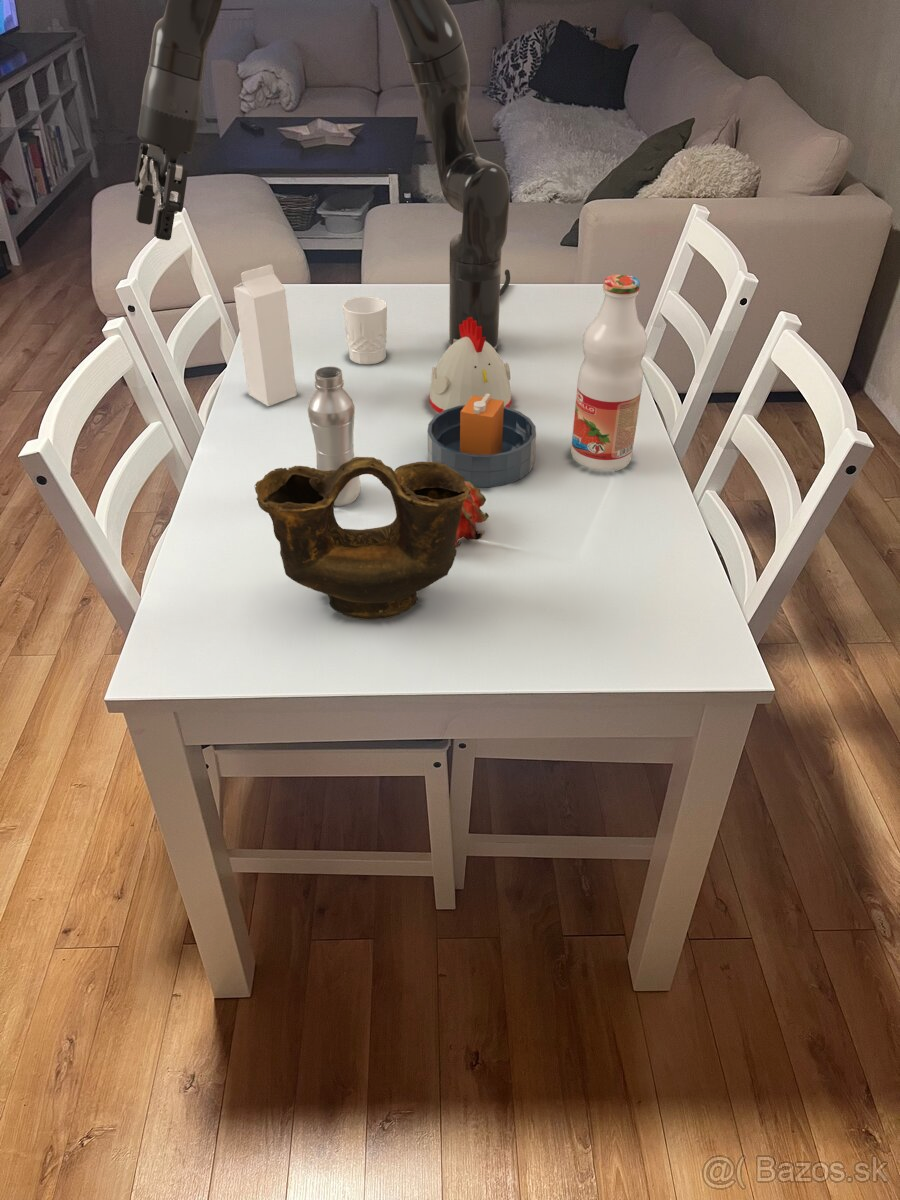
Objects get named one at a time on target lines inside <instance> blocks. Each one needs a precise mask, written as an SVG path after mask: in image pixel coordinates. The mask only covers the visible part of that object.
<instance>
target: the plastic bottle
mask: <svg viewBox="0 0 900 1200" xmlns="http://www.w3.org/2000/svg"><path fill="white" fill-rule="evenodd" d="M343 378H344V377H343V370H342V369H341V368H339V367H337V366H332V365H331V366H323V367H319V368H318V369H316V371H314V380H315V381H314V387H315V389H316V391H315V392H314V394H313V395H312V396H311V398H310V400H309V402H308V406H307V415H308V418H309V423H310V427H311V430H312V434H313V440H314V446H315V452H316V469H318V470H322V471H330V470H337V469H338V468H339V467H340V466H341V465H342V464H344V463H346V462H348V461H350V460H351V459H353V458H355V457H356V456H355V450H354V449H355V447H354V428H355V418H356V417H355V414H356V407H355V403H354V401H353V399H352V397H351V396H350V395H349V393H348V392H347V391H346V390H345V389H344V385H345V384H344V383H345V381H344V379H343ZM361 484H362V483H361V478H360V476H358V477H355V478H353V479H351V480H350V481H349V482H348V483H347V484H346V486H345V487H344V488H343V489H342V490H341V492H340V493H339V495H338V497H337V499H336V500H335V502H334V507H343V506H347V505H351V504H352V503H353V502H355V501H356V500H357V498H358V497H359V495H360V492H361Z"/></svg>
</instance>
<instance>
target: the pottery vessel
mask: <svg viewBox="0 0 900 1200" xmlns="http://www.w3.org/2000/svg"><path fill="white" fill-rule="evenodd" d="M363 475H372V476H373V477H375V478H377V479H378V480H379V481H380V482H381V484H382V485H383V486H384V487H385V488H387V490H389V492H390V494H391V498H392V501H393V505H394V508H395V519H394V520H393V521H392V522H391V523H390V524H388V525H385V526H379V527H372V528H364V529H355V528H343V527H342V526H341V525H339V524H338V521H337V519H336V517H335V510H334V509H335V506H334V502H335V500H336V499H337V497H338V495H339V493H340V492H341V490H342V489H343V488H344V487H345V486H346V484H347V483H348V482H349V481H350V480H351V479H353V478H355V477H358V476H359V477H360V476H363ZM464 479H465V477H464V476H461V475H460V474H459V473H458V472H456V471H454V470H452V469H451V468H449V467H448V466H447V465H445V464H441V463H439V462H428V461H416V462H410V463H407V464H402V465H399V466H398V467H396V468H395V469H393V468H392V467H391V466H388V465H386V464H385V463H384V462H383V461H382V459H377V458H375V457H374V456H355V458H353V459H351V460H350V461H348V462H346V463H344V464H342V465H341V466H340V467H339V468H338V469H337V470H330V471H322V470H318V469H317V468H315V467H310V466H307V465H306V466H305V465H294V466H291V467H284V468H282V467H279V468H274V469H273V470H270V471H268V473H267V474H264V476H263V478H262V479H260V480H257V481H256V483H255V484H254V490H255V493H256V498H255V499H256V501H257V504H258V507H259V508H260V509H261V510H262V511H264V512H265V513H267V514H268V515H269V517H270V519H271V522H272V527H273V528H272V529H273V534H274V537H275V539H276V540H277V542H278V543H279V546H280V548H279V549H280V551H279V555H280V557H281V561H282V564H283V565H282V566H283V570H284V574H285V575H286V576H287V578H288V579H290V580H292V581H293V582H295V583H297V584H299V585H301V586H303V587H305V588H307V589H311V590H313V591H316V592H318V593H322V594H325V595H326V596H328V599H329V602H328V603H329V606H330V607H331V609H332V610H333V611H335V612H338V613H340V614H342V615H343V616H345V617H350V618H352V619H359V620H378V619H380V620H381V619H389V618H393V617H397V616H398V615H400V614H402V613H404V612H406V611H409V610H410V609H411V608H412V607H414V606H416V605H417V604H418V600H419V596H418V592H419V591H422V590H425V589H426V588H428V587H430V586H431V585H433V584H434V583H436V582H438V581H439V580H441V579H442V578H444V577H446V576H448V574H449V572H450V571H451V569H452V567H453V565H454V562H455V559H456V556H457V548H456V547H455V538H456V533H457V529H458V525H459V521H460V518H461V516H462V515H461V510H462V506H463V503H464V501H465V499H466V498H467V497H469V496H468V495H469V493H470V491H471V489H470V487H469V486H467V485H466V484H465V481H464Z"/></svg>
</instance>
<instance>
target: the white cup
mask: <svg viewBox="0 0 900 1200" xmlns="http://www.w3.org/2000/svg"><path fill="white" fill-rule="evenodd" d="M342 310H343V319H344V327H345V335H346V341H347V342H346V343H347V346H348V353H349V359H350V360H351V361H352V362H353V363H355V364H359V365H376V364H379V363H381V362H382V361H384V360H385V359H386V357H387V352H386V351H387V337H388V333H387V331H388V303H387V302H386V300H384V299H382V298H381V297H375V296H357V297H353V298H349V299H347V300H346V301H344V302H343V303H342Z"/></svg>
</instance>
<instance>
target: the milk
mask: <svg viewBox="0 0 900 1200" xmlns="http://www.w3.org/2000/svg"><path fill="white" fill-rule="evenodd" d="M240 277H241V282H240V283H239V284H236V286H233V293H234V301H235V306H236V315H237V322H238V327H239V328H238V329H239V334H240V343H241V349H242V356H243V363H244V370H245V376H246V377H245V378H246V384H247V389H248V390H247V391H248V395H249V396H250V397H251V398H254V399H255V400H256V401H258V402H260V403H261V404H263V405H264V406H267V407H271V406H273V405H276V404H279V403H282V402H284V401H287V400H290V399H292V398H295V397H296V396H298V395H297V386H296V376H295V366H294V358H293V350H292V349H293V348H292V340H291V339H292V337H291V329H290V321H289V311H288V303H287V302H288V301H287V293H286V288H285V286H284V285H283V284H282V283H281V281H280V279H279V278H278V276H277V275H276V274H275V272H274V266H273V264H271V263H269V264H267V265H263V266H260V267H259V266H258V267H256V268H253V269H249V270H245V271H243V272H241V274H240Z"/></svg>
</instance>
